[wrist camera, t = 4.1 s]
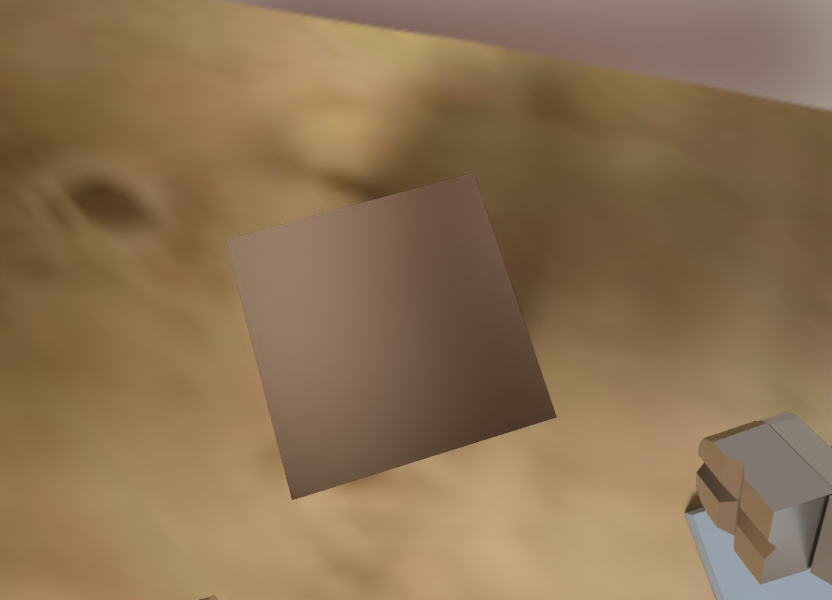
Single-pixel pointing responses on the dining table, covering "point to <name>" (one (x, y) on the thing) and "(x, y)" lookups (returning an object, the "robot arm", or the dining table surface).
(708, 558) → the slate board
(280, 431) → the walnut block
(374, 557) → the dining table surface
